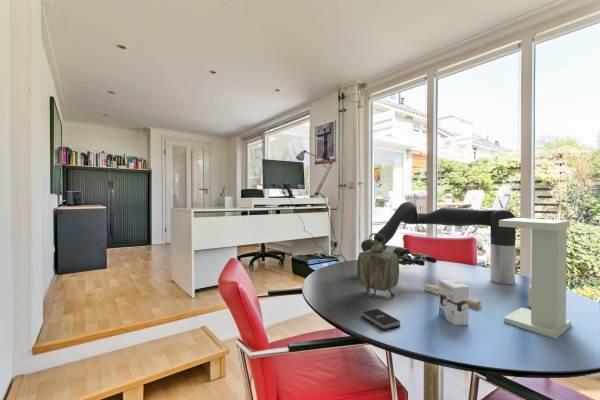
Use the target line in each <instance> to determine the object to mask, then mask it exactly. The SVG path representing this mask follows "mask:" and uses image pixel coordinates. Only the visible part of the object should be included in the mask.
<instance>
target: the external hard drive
mask: <svg viewBox="0 0 600 400" xmlns="http://www.w3.org/2000/svg"><path fill="white" fill-rule="evenodd" d="M360 316H361V318H362V319H363V318H364V320H366V322H368V323H370V324H371V325H373V326H375V327H376V328H377V329H379V330H381V331H384V332H386V331H390V330H393V329H396V328H400V327H401V320H399V319H398V318H395V317H394V316H392V315H391V314H388V313H386V312H385V311H383V310H381V309H380V308H373V309H368V310H365V311H364V310H363V311H361V314H360Z"/></svg>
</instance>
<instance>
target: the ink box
mask: <svg viewBox="0 0 600 400" xmlns="http://www.w3.org/2000/svg"><path fill="white" fill-rule="evenodd" d="M438 281H439V282H438V287H439V295H438V314H439V316H441V317H442V318H443V319H445V320H447V321H448V322H450V323H451V324H452V325H454V326H461V325H463V326H466V325H469V317H470V316H469V314H470V313H469V308H470V307H469V298H470V297H469V296H470V295H469V286H468V285H466V284H464V283H461V282H459V281H457V280H456V279H439V280H438Z"/></svg>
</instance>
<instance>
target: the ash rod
mask: <svg viewBox="0 0 600 400" xmlns="http://www.w3.org/2000/svg"><path fill="white" fill-rule="evenodd" d="M424 290H425V291H427V292H429V293H432V294H434V295H438V296H439V286H438V285H435V284H432V283H427V284H424ZM481 303H482V302H481V301H480V300H478V299H475V298H472V297H469V308H473V309H475V310H477V309H480V308H481V306H482V305H481Z"/></svg>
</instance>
